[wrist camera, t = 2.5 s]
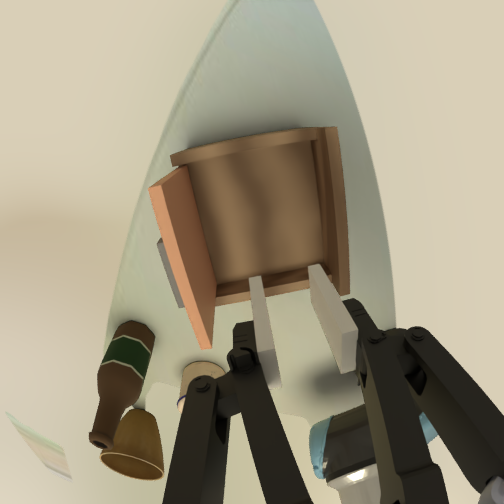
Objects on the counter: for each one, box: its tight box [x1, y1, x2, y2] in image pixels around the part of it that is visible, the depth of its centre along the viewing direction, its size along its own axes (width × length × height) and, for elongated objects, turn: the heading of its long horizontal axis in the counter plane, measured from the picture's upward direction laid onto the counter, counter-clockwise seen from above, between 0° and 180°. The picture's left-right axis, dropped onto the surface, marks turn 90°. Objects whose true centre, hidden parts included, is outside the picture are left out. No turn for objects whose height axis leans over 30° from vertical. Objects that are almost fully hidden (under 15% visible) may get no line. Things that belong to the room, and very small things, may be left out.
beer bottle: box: [89, 321, 155, 450], centre depth 38 cm, size 8×8×24 cm
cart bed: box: [170, 127, 350, 306], centre depth 34 cm, size 17×18×14 cm
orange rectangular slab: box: [148, 165, 217, 350], centre depth 27 cm, size 2×15×12 cm, turn 10°
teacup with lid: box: [177, 362, 225, 414], centre depth 49 cm, size 12×9×12 cm
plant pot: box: [100, 409, 164, 480], centre depth 52 cm, size 15×15×16 cm
